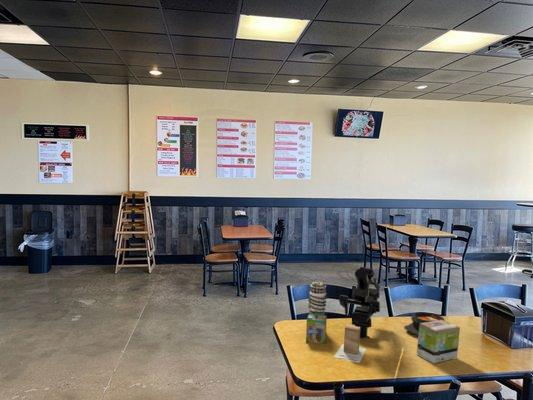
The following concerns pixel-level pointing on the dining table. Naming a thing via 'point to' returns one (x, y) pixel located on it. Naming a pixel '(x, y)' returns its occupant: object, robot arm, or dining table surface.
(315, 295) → the leaning tower model
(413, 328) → the casserole
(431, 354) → the tea box
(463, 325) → the dining table surface
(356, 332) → the block
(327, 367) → the dining table surface
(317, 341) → the chalk box
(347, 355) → the board
